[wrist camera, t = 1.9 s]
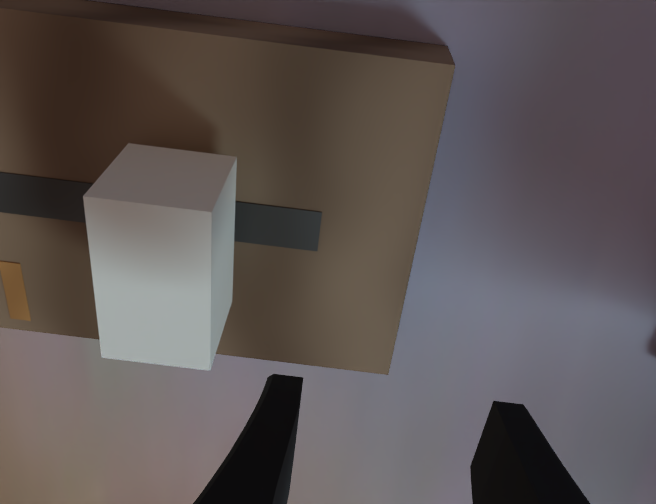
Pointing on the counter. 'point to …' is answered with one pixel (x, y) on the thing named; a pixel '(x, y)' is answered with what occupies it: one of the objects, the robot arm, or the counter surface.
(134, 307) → the fader
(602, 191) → the counter surface
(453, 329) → the counter surface
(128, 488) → the counter surface
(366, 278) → the brown flat slab
